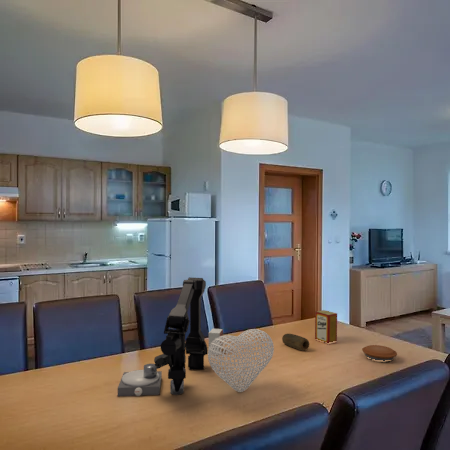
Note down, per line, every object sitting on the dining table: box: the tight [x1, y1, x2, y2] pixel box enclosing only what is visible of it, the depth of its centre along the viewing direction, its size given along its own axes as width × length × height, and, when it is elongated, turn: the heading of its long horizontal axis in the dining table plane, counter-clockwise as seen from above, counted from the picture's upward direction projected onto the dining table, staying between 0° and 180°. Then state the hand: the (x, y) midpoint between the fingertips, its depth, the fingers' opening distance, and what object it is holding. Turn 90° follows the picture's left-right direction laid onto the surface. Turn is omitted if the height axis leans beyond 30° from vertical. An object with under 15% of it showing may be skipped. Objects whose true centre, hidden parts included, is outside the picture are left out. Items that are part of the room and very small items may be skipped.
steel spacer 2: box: [169, 379, 185, 396], centre depth 148 cm, size 5×5×4 cm
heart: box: [207, 328, 275, 393], centre depth 149 cm, size 28×16×22 cm, turn 130°
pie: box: [361, 344, 398, 361], centre depth 188 cm, size 15×16×5 cm
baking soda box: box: [314, 309, 338, 343], centre depth 215 cm, size 10×6×16 cm
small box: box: [207, 328, 224, 356], centre depth 194 cm, size 8×6×10 cm
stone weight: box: [281, 333, 310, 351], centre depth 203 cm, size 15×7×7 cm, turn 38°
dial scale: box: [117, 369, 163, 397], centre depth 152 cm, size 15×16×4 cm
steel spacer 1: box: [143, 363, 158, 379], centre depth 153 cm, size 5×5×4 cm
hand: (177, 388), depth 148 cm, fingers closed on steel spacer 2, 5 cm apart
